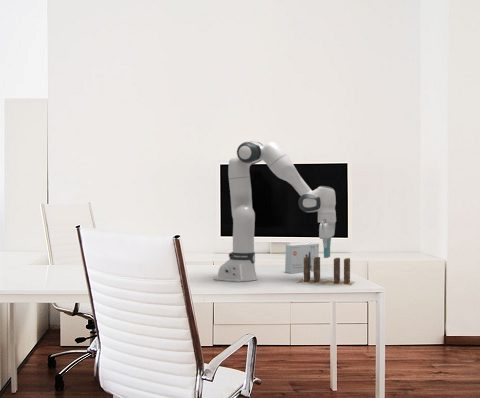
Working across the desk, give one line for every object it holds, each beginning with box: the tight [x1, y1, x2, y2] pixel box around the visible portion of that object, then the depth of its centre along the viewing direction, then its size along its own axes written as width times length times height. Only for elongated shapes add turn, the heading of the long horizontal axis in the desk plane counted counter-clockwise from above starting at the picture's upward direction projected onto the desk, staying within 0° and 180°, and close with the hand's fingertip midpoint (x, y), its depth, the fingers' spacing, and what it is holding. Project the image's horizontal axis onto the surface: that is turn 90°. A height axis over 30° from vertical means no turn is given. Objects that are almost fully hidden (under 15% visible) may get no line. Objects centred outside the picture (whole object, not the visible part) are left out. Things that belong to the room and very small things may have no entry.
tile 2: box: [333, 257, 341, 284], centre depth 314 cm, size 2×6×12 cm, turn 161°
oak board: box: [296, 278, 355, 286], centre depth 316 cm, size 27×12×1 cm, turn 71°
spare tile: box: [323, 238, 331, 259], centre depth 315 cm, size 2×6×12 cm, turn 161°
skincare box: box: [284, 242, 320, 274], centre depth 360 cm, size 21×5×16 cm, turn 126°
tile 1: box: [343, 257, 351, 284], centre depth 312 cm, size 2×6×12 cm, turn 161°
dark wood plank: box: [303, 257, 311, 282], centre depth 319 cm, size 2×6×12 cm, turn 161°
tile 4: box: [313, 256, 321, 283], centre depth 317 cm, size 2×6×12 cm, turn 161°
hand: (327, 246), depth 315 cm, fingers closed on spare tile, 6 cm apart
